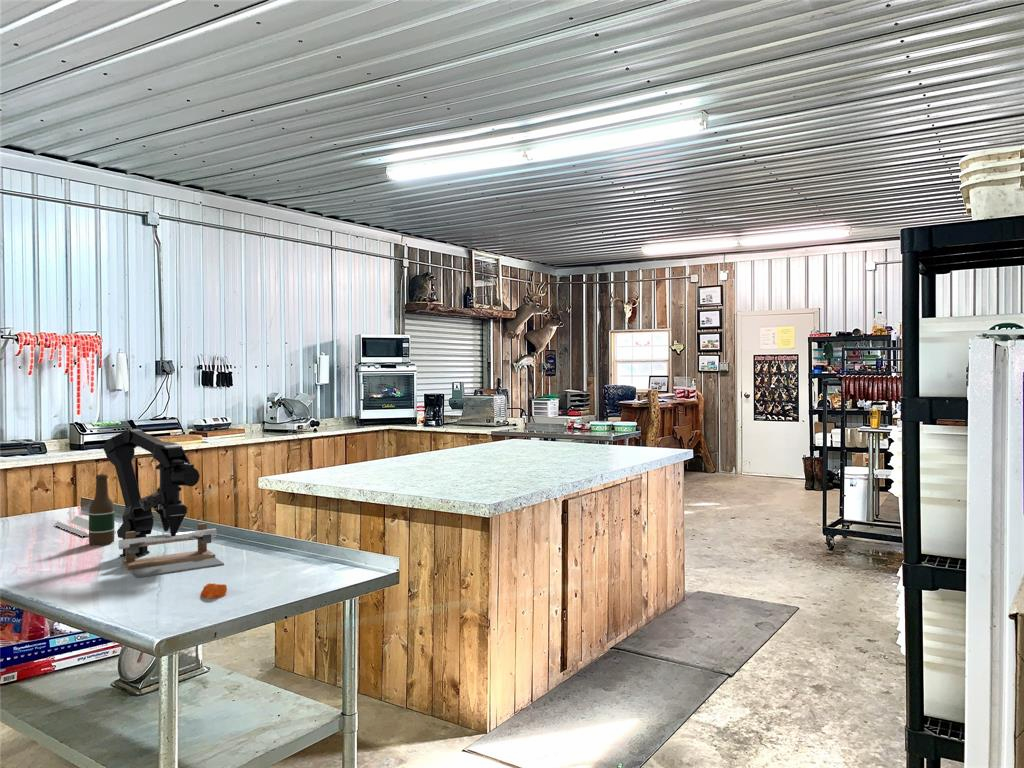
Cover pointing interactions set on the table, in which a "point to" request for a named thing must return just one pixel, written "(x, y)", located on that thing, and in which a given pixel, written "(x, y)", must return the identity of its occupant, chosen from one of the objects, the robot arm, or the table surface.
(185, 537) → the steel rail
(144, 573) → the rubber mat
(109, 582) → the table surface
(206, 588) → the rock
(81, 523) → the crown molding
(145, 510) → the robot arm
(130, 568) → the hook stand
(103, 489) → the beer bottle
